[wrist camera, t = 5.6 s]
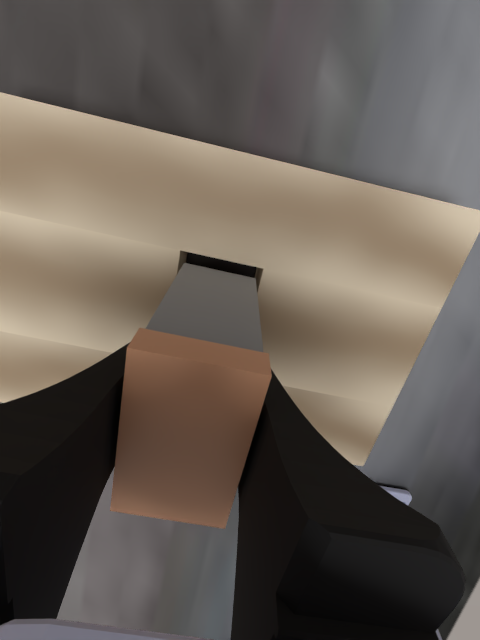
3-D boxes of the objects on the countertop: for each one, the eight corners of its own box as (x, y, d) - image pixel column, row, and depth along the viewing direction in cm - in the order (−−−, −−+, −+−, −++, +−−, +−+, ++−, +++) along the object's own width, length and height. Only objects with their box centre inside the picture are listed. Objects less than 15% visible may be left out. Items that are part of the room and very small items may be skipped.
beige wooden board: (348, 429, 22) (363, 466, 20) (26, 369, 21) (-7, 400, 18) (448, 204, 17) (488, 212, 14) (17, 98, 15) (-32, 84, 12)
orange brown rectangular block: (232, 379, 17) (224, 528, 10) (165, 367, 16) (110, 511, 10) (258, 276, 15) (271, 375, 8) (181, 259, 14) (126, 348, 8)
